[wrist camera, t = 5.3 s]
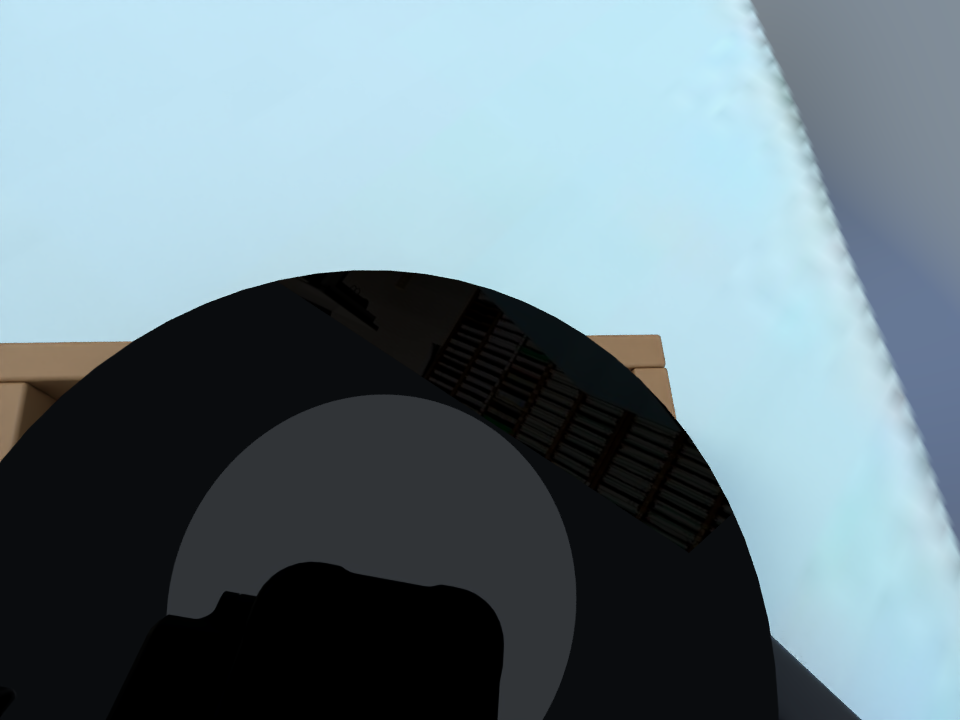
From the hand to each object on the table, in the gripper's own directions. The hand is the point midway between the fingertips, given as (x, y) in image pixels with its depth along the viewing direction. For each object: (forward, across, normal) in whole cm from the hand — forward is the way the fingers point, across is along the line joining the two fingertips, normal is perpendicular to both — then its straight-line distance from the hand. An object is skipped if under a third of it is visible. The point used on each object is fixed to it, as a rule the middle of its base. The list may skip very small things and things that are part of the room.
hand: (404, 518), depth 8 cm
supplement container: (+4, 0, +6) cm, 7 cm away
